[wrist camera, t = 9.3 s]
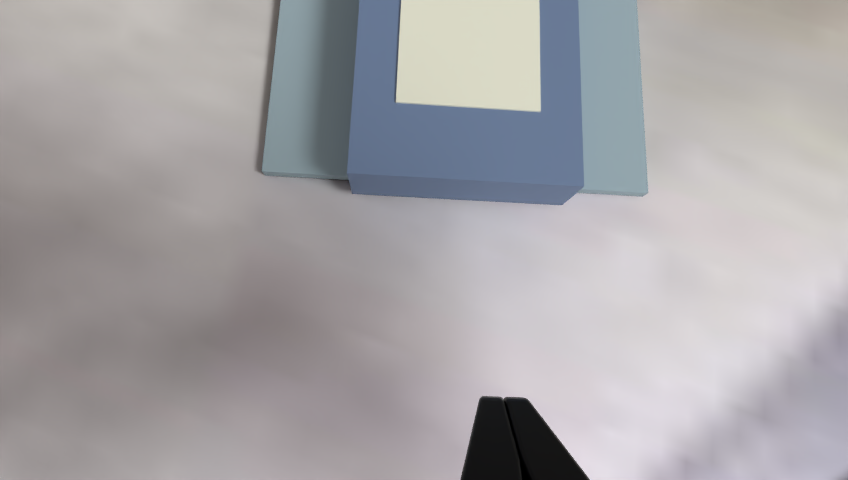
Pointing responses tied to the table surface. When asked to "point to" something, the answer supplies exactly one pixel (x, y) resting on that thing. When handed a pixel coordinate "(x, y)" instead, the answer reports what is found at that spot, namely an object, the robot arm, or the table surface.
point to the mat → (334, 76)
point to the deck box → (467, 100)
